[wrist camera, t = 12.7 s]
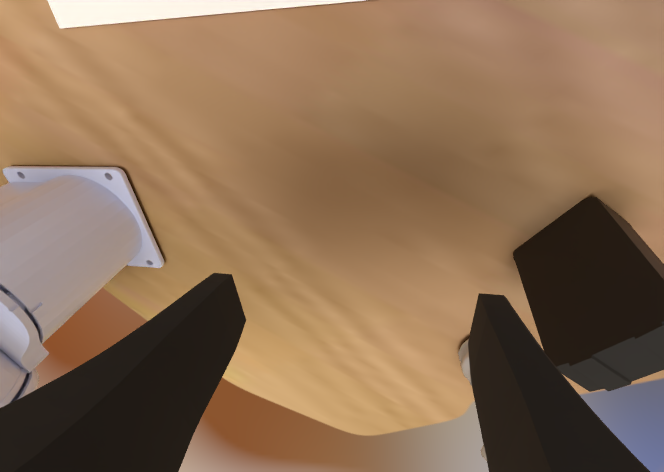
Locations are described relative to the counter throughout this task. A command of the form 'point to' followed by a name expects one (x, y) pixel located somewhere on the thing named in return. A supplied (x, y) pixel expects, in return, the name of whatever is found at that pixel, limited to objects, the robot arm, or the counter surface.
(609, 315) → the ink cartridge
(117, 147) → the counter surface
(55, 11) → the paper sheet
